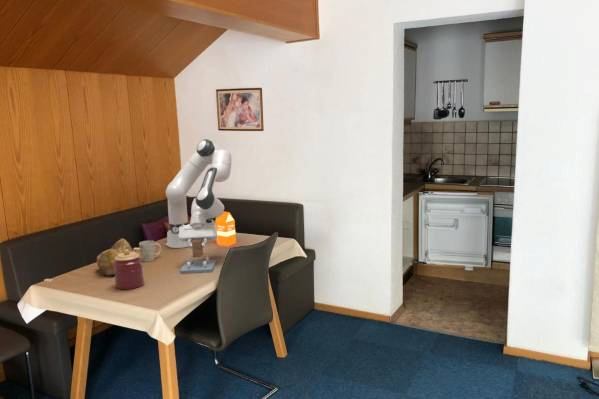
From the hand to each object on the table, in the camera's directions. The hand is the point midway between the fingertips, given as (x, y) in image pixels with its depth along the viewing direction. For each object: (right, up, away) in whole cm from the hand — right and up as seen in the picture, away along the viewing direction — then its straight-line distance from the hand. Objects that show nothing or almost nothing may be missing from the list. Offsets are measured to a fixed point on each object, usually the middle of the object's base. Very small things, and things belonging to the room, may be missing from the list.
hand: (197, 247), depth 261 cm
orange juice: (+8, -3, +47) cm, 47 cm away
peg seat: (0, -11, +2) cm, 11 cm away
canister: (-28, -16, -20) cm, 38 cm away
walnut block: (0, -4, +1) cm, 5 cm away
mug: (-30, -9, +21) cm, 37 cm away
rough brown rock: (-45, -13, +5) cm, 47 cm away
